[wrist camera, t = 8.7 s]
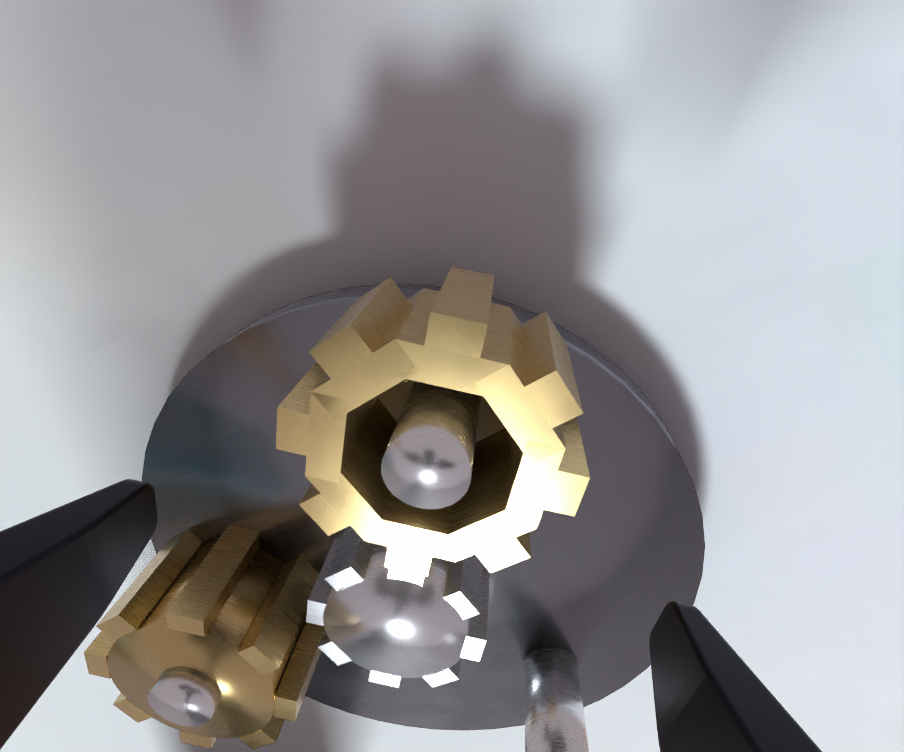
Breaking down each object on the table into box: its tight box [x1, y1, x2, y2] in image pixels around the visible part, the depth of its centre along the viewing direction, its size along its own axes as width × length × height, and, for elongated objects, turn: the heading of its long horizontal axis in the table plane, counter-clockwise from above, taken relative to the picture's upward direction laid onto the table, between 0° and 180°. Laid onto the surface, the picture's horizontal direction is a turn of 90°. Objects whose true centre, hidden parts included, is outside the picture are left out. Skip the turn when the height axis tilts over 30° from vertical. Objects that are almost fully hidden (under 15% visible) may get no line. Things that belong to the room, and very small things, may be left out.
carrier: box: [84, 284, 705, 752], centre depth 16 cm, size 19×19×6 cm
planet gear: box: [276, 266, 590, 576], centre depth 12 cm, size 7×7×4 cm
